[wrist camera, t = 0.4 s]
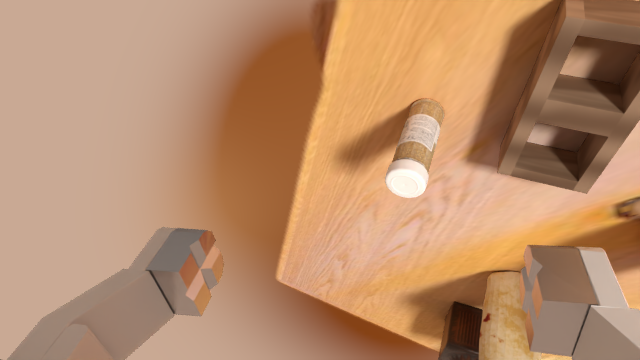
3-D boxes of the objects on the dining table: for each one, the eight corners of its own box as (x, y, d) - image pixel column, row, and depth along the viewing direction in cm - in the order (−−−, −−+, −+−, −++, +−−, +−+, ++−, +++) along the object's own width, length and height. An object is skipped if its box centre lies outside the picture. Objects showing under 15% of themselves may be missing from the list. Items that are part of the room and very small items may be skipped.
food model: (480, 277, 77) (465, 388, 64) (498, 260, 71) (486, 378, 59) (532, 298, 76) (527, 415, 64) (554, 283, 71) (554, 407, 58)
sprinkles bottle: (430, 130, 57) (409, 205, 49) (402, 112, 56) (376, 184, 48) (453, 110, 53) (434, 186, 45) (423, 90, 53) (399, 164, 44)
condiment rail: (565, -9, 40) (566, 16, 36) (687, 7, 37) (700, 35, 34) (500, 145, 55) (497, 172, 51) (584, 164, 52) (586, 193, 49)
